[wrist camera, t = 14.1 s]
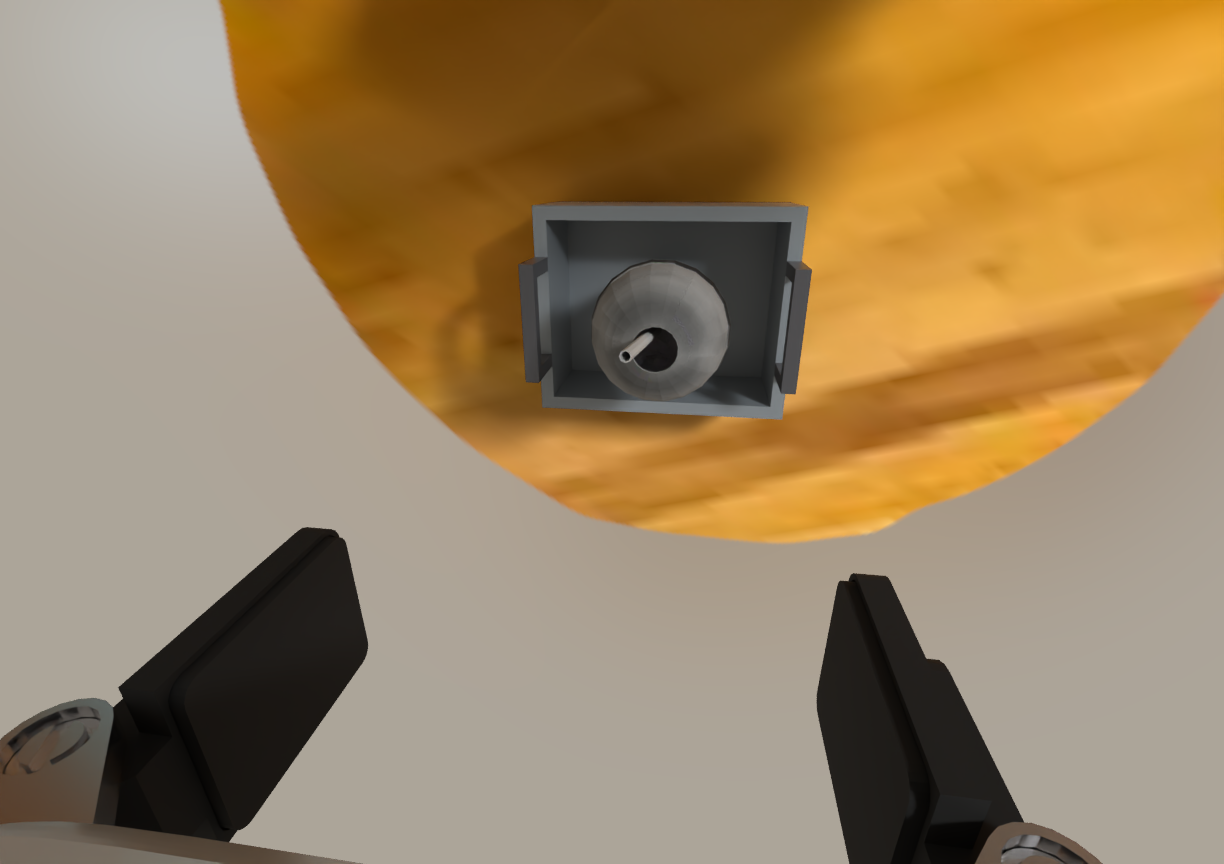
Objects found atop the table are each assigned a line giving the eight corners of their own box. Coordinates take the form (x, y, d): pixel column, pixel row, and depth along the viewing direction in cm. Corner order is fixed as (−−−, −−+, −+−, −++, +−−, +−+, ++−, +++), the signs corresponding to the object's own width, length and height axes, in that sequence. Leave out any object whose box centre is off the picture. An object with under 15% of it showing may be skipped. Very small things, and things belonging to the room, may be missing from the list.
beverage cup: (665, 367, 43) (640, 497, 24) (596, 292, 41) (516, 371, 23) (744, 300, 40) (783, 388, 22) (674, 218, 39) (653, 238, 20)
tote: (790, 202, 38) (819, 209, 29) (770, 384, 43) (789, 441, 34) (558, 201, 40) (514, 207, 31) (564, 375, 45) (528, 426, 36)
